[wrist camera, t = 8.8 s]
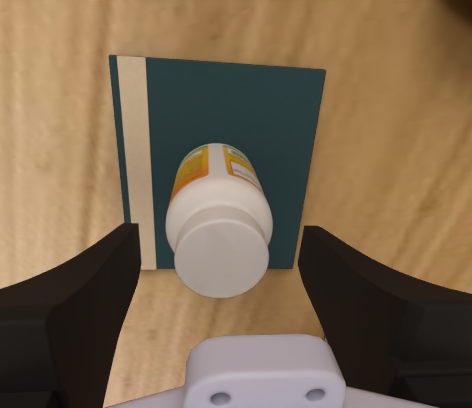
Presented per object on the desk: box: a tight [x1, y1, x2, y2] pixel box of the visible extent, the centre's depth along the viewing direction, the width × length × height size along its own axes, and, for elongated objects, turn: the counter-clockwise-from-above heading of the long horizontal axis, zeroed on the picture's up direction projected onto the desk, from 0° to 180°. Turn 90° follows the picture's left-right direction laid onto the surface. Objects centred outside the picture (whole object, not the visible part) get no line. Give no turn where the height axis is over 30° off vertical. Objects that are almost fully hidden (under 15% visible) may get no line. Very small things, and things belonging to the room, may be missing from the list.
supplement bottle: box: [166, 143, 273, 298], centre depth 17 cm, size 5×5×10 cm
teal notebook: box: [109, 55, 326, 270], centre depth 22 cm, size 15×13×1 cm
